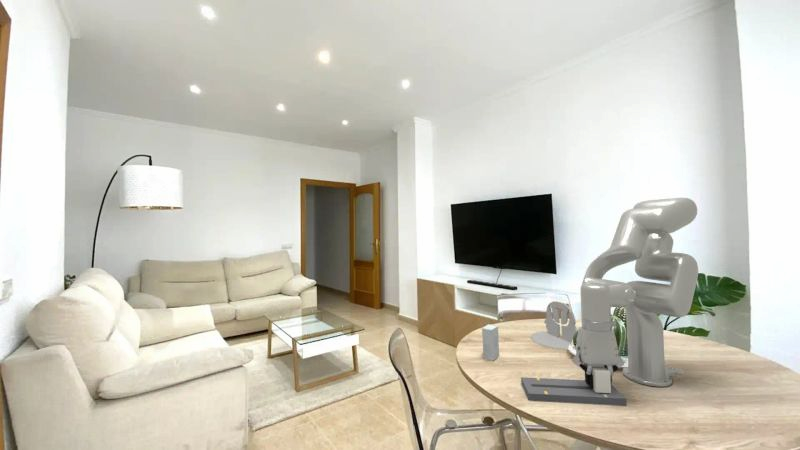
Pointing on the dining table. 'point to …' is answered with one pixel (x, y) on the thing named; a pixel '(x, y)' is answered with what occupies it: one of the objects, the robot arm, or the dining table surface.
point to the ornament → (556, 327)
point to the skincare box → (490, 342)
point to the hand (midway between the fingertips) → (598, 385)
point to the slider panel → (569, 392)
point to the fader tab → (601, 379)
